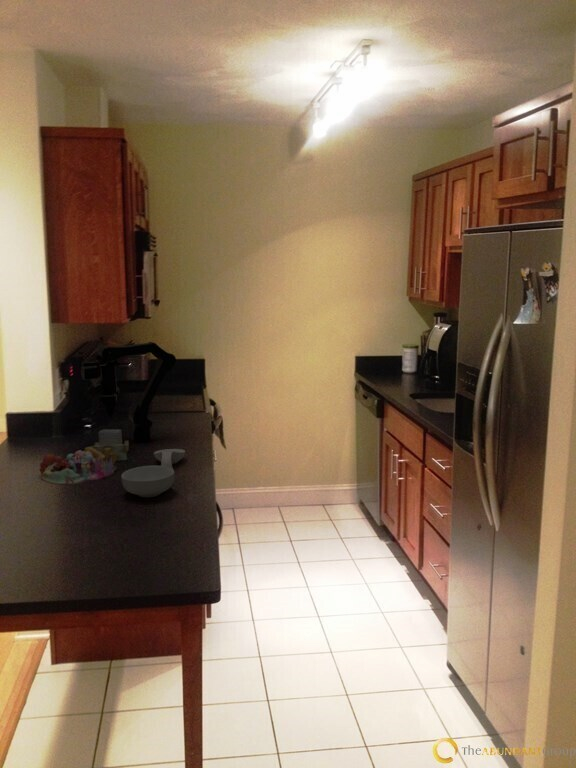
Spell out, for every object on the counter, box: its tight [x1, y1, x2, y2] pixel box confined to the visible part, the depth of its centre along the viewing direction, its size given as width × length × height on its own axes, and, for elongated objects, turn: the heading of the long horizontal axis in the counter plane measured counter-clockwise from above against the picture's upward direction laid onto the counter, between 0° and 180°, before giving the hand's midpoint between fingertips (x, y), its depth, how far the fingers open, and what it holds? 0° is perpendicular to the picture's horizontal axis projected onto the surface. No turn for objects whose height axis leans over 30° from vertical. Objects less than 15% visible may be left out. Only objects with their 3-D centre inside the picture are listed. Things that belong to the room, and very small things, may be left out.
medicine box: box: [98, 428, 123, 446], centre depth 272 cm, size 8×4×9 cm, turn 84°
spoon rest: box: [153, 448, 186, 470], centre depth 254 cm, size 24×12×7 cm, turn 7°
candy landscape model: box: [39, 446, 118, 486], centre depth 246 cm, size 25×24×9 cm
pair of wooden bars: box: [89, 440, 130, 462], centre depth 269 cm, size 13×18×6 cm
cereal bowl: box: [121, 465, 175, 498], centre depth 226 cm, size 17×17×7 cm
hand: (111, 415), depth 280 cm, fingers open, 7 cm apart
